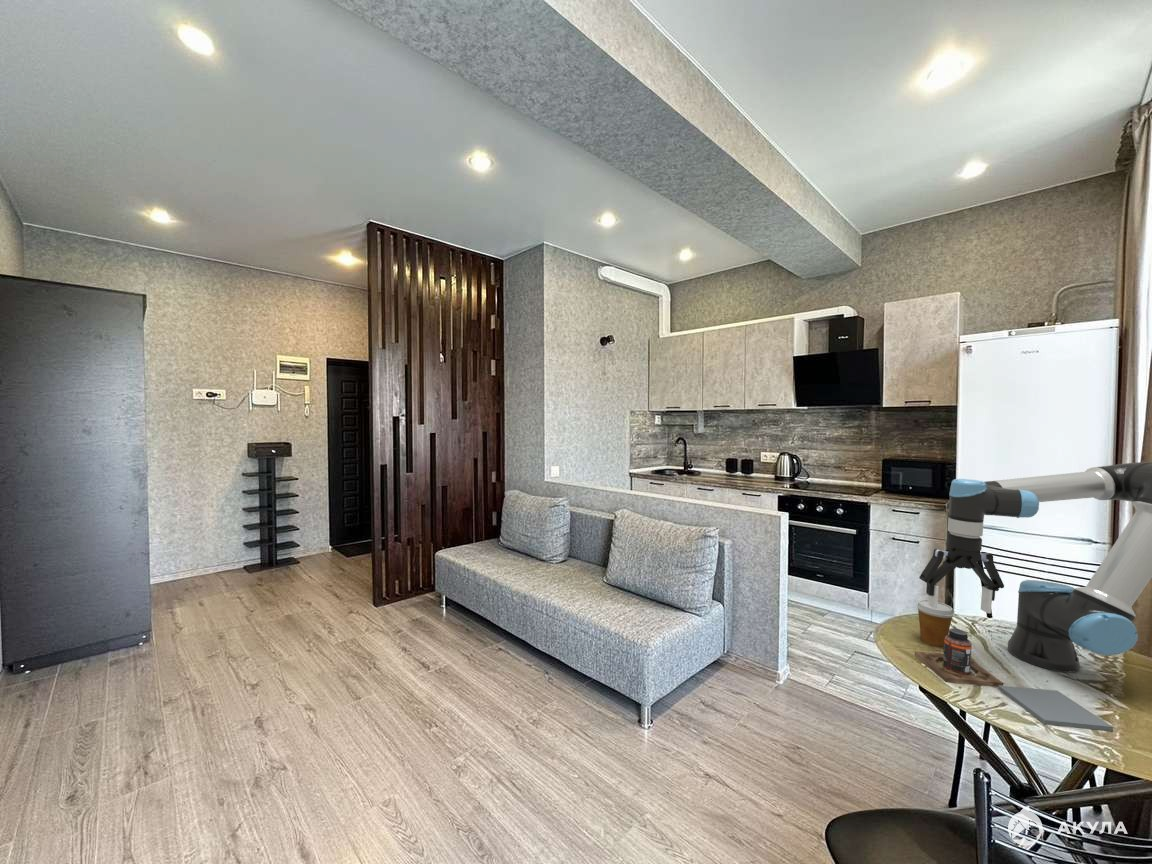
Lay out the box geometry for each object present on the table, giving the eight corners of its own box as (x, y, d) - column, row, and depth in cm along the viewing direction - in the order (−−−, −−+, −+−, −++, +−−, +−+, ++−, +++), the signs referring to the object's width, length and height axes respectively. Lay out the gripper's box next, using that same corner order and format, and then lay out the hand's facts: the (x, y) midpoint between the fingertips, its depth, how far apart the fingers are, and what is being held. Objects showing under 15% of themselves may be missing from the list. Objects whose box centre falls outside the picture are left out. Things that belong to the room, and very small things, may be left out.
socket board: (965, 659, 136) (966, 655, 136) (1003, 687, 122) (1003, 683, 122) (914, 655, 138) (914, 651, 138) (945, 682, 124) (946, 677, 124)
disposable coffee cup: (960, 650, 141) (962, 612, 141) (929, 649, 141) (931, 611, 141) (936, 635, 151) (938, 599, 150) (907, 634, 151) (909, 598, 150)
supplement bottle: (975, 677, 126) (977, 637, 126) (950, 674, 127) (953, 634, 127) (961, 666, 132) (964, 627, 132) (938, 663, 133) (940, 625, 133)
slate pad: (1057, 694, 119) (1057, 690, 119) (1112, 731, 106) (1113, 726, 106) (997, 688, 121) (998, 685, 121) (1044, 724, 107) (1044, 720, 107)
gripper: (1003, 534, 130) (997, 607, 131) (908, 528, 134) (903, 599, 134) (1025, 541, 123) (1019, 619, 124) (924, 534, 126) (919, 610, 127)
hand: (958, 609), depth 129 cm, fingers open, 13 cm apart
